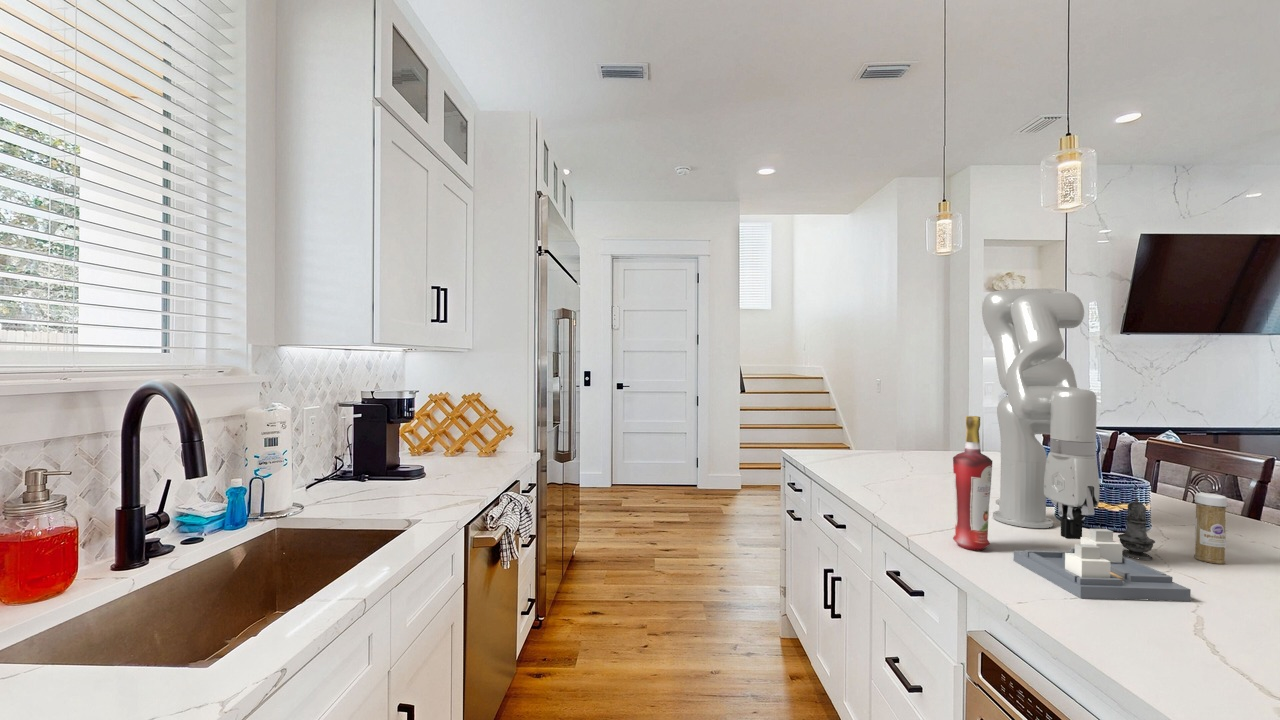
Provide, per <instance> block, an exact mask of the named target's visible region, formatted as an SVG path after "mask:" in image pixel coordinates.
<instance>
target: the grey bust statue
mask: <svg viewBox="0 0 1280 720" xmlns="http://www.w3.org/2000/svg"><path fill="white" fill-rule="evenodd" d="M1146 515H1147V507H1146V505H1145V504H1143V503H1141V502H1139V498H1138V497H1136V498H1135V499H1134V501H1133V502H1129V503H1128V504H1127V517H1125V518H1124V520H1126V529H1125V532H1124V533H1119V534H1118V535H1117V537H1118V538H1119V543H1121V544H1122V548H1123V549H1122V556H1123V555H1125V556H1124V557H1126V556H1129V557H1134V558H1139V559H1144V560H1143V561H1153V560H1154V557H1153V556H1151V555H1150V554H1148V552H1150V551H1151V550H1152V548H1154V544H1155V543H1156V540H1154V539H1152V538H1150V537H1149V536H1148V534H1147V523H1149V521H1148V520H1147V517H1146ZM1129 557H1128V558H1129ZM1134 558H1133V559H1134ZM1139 559H1138V560H1139ZM1152 559H1153V560H1152Z"/></svg>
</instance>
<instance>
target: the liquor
mask: <svg viewBox="0 0 1280 720" xmlns="http://www.w3.org/2000/svg"><path fill="white" fill-rule="evenodd" d="M965 427H966V435H965V443H964V451H962V452H959V453H957V454H956V455H954V456H953V457H952V463H953V465H952V466H953V469H952V471H953V474H952V475H953V489H954V490H953V491H954V492H953V493H954V518H955V519H954V523H955V525H954V527H955V528H954V529H955V530H954V531H955V534H954V535H953V536H952V539H953V541H954V542H955V543H956V544H957V545H958V546H959V548H963V549H965V550H968V551H969V550H970V551H983V550H985V549H986V548H987V547H989V546H990V545H991V543H990V541H989V539H988V536H989V515H990V502H991V501H990V500H991V490H992V474H993V473H992V472H993V460H992V459H991V458H990V457H989V456H987V455H985V454H983V453H982V452H981V441H980V427H981V416H977V415H966V416H965Z"/></svg>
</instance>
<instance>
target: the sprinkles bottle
mask: <svg viewBox="0 0 1280 720" xmlns="http://www.w3.org/2000/svg"><path fill="white" fill-rule="evenodd" d="M1194 502H1195V517H1194V520H1195V521H1194V546H1195V547H1194V548H1195V549H1194V551H1195V553H1194V556H1193V557H1194V558H1195V559H1196V560H1198V561H1201V562H1203V563H1204V562H1206V563H1210V564H1217V565H1223V564H1226V557H1225V556H1226V538H1227V537H1226V536H1227V534H1226V533H1227V532H1226V509H1227V506H1228V498H1227V496H1225V495H1221V494H1216V493H1209V492H1208V493H1207V492H1196V493H1195V495H1194Z"/></svg>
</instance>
